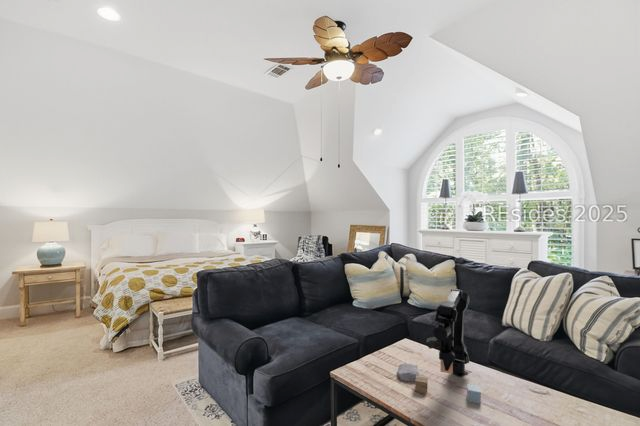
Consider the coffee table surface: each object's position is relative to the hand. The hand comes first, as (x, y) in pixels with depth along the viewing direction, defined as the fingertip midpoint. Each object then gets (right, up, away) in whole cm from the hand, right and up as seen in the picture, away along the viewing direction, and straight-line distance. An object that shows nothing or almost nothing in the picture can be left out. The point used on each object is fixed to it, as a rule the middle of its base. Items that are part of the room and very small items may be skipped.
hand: (446, 367), depth 147 cm
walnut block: (-10, -12, +3) cm, 16 cm away
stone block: (-13, -12, +16) cm, 24 cm away
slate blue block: (+10, -12, -5) cm, 16 cm away
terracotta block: (0, -1, 0) cm, 1 cm away
